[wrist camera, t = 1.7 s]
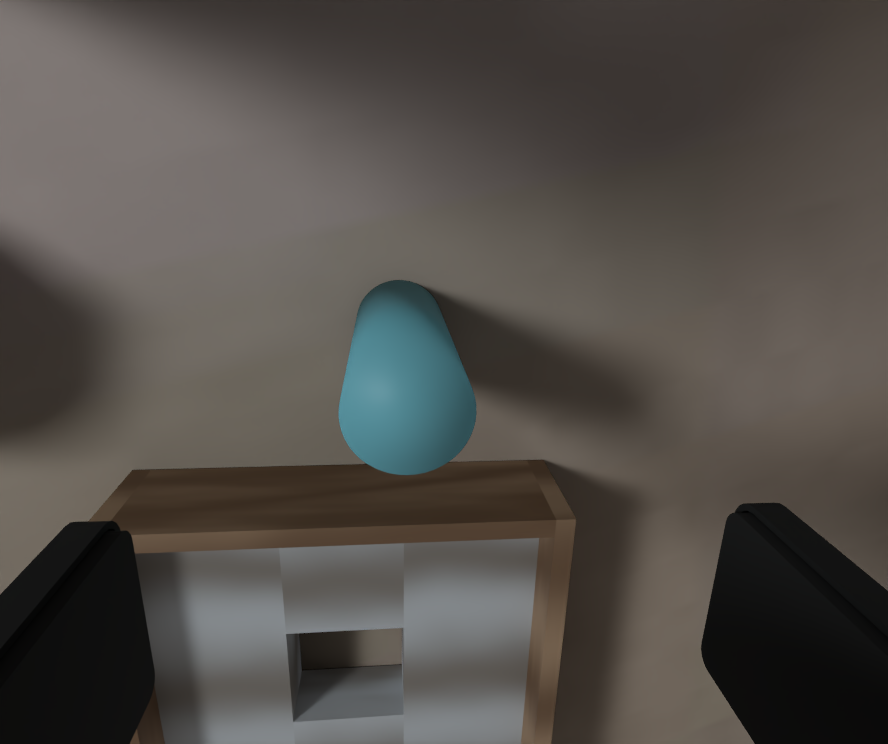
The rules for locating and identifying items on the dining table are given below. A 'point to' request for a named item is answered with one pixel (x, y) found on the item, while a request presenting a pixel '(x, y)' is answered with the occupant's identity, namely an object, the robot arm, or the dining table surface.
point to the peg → (404, 384)
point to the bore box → (350, 600)
